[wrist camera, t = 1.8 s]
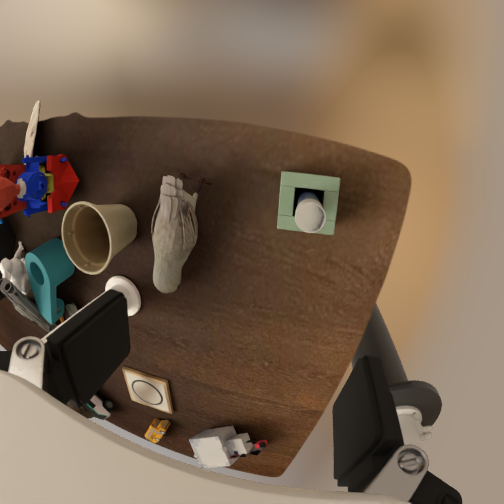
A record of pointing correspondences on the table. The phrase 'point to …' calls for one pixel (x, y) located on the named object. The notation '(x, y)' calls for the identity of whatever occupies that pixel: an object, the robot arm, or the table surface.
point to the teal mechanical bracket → (48, 276)
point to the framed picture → (148, 390)
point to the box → (5, 245)
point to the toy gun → (24, 305)
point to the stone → (71, 309)
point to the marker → (309, 212)
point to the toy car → (99, 407)
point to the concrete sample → (80, 410)
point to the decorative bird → (173, 231)
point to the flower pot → (96, 234)
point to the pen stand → (309, 181)
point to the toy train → (36, 185)
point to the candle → (122, 286)
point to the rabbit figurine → (16, 271)
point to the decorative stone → (32, 131)
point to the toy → (223, 446)
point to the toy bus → (157, 430)
